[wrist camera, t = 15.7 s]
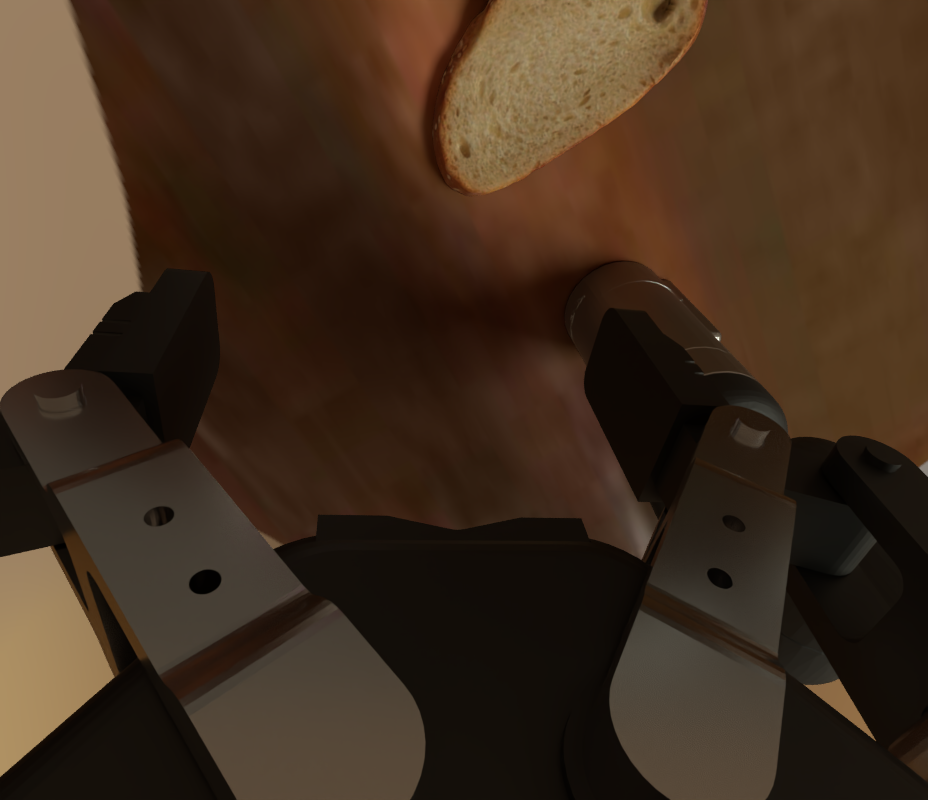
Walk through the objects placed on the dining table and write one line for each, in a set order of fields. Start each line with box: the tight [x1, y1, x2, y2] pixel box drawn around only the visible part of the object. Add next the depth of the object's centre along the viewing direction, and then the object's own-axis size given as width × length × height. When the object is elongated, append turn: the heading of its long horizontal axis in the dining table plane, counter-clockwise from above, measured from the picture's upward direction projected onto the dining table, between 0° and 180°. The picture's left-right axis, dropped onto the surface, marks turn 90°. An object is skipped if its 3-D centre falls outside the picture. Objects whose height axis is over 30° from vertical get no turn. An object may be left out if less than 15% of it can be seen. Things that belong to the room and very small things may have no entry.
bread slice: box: [432, 0, 708, 196], centre depth 40 cm, size 18×18×4 cm
